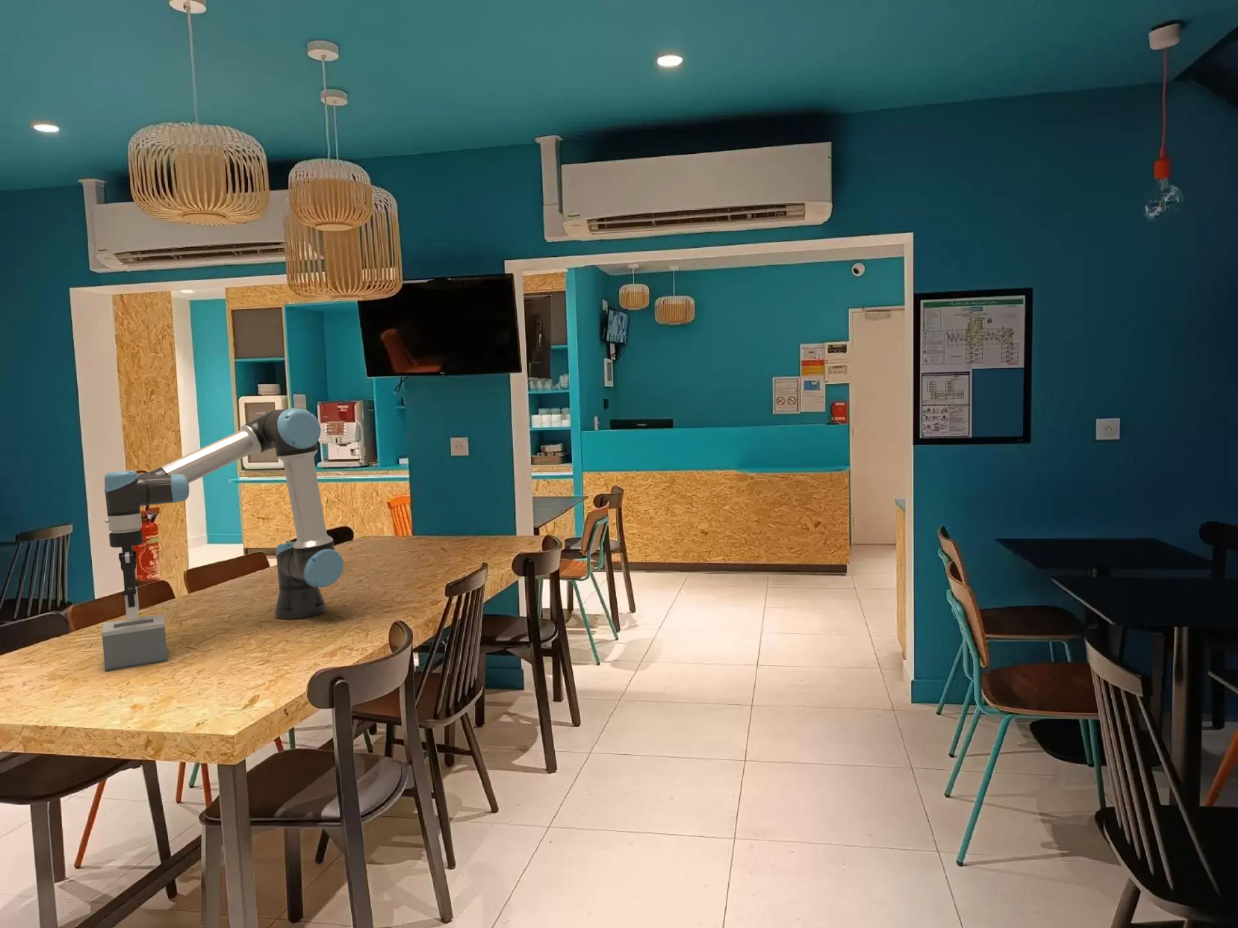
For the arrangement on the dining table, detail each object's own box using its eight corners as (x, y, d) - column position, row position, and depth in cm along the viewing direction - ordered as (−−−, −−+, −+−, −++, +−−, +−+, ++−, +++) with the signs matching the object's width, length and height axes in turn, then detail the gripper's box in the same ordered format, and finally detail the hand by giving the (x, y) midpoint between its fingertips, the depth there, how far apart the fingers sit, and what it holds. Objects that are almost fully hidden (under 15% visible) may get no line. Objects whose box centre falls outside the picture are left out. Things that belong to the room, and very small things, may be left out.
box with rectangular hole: (166, 650, 232) (163, 614, 231) (167, 660, 221) (164, 623, 221) (107, 659, 225) (103, 622, 224) (105, 671, 215) (101, 632, 214)
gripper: (110, 527, 228) (117, 609, 230) (107, 537, 209) (115, 626, 211) (142, 524, 232) (149, 605, 234) (141, 533, 213) (149, 621, 214)
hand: (133, 615), depth 222 cm, fingers open, 9 cm apart
